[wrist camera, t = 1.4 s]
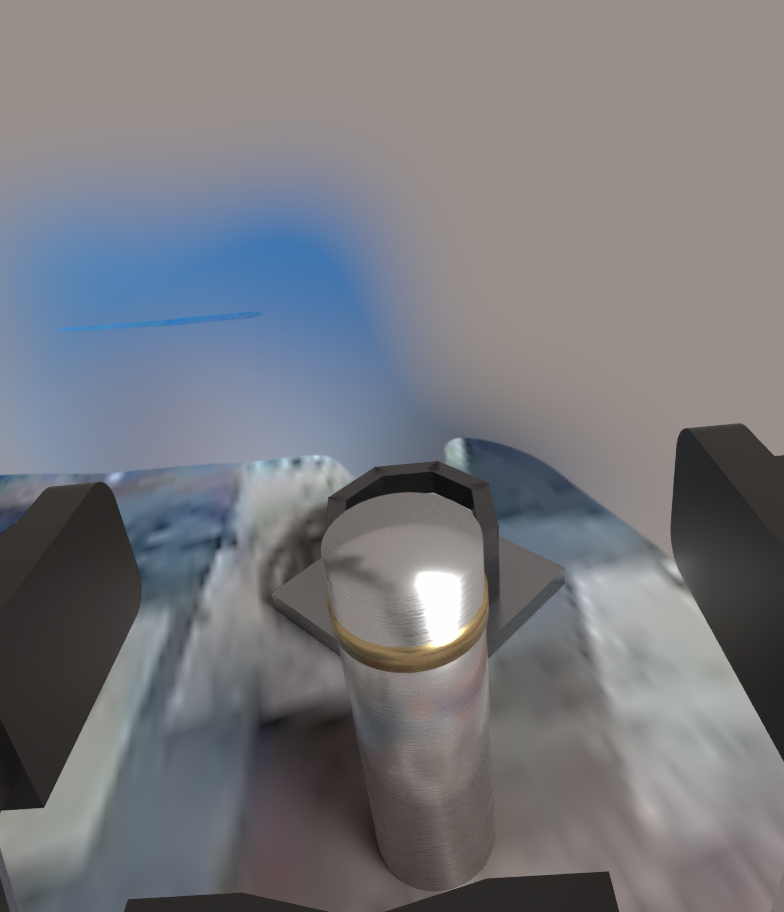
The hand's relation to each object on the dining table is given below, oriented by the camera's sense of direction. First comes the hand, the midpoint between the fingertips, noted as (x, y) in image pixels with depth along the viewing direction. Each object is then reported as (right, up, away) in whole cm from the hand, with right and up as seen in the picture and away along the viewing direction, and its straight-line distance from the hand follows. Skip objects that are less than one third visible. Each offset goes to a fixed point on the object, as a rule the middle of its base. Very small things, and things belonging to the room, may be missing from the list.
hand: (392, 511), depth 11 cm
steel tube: (+2, -15, +21) cm, 26 cm away
